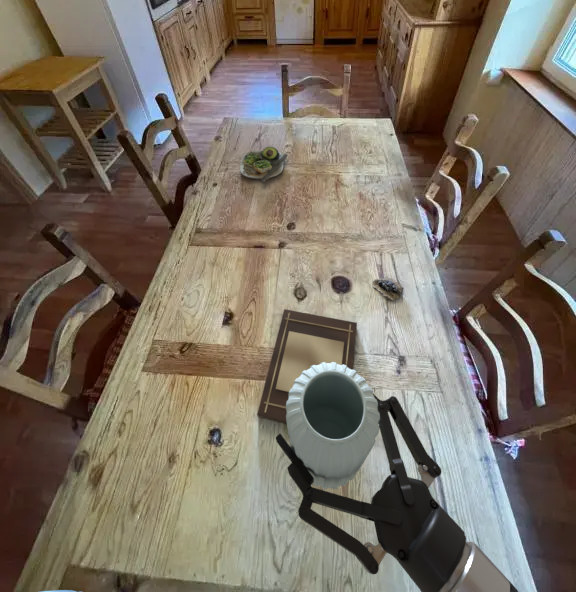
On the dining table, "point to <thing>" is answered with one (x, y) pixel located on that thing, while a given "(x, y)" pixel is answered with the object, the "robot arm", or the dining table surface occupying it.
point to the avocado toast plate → (262, 164)
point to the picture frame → (303, 355)
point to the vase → (332, 422)
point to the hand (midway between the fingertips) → (310, 404)
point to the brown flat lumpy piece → (388, 288)
